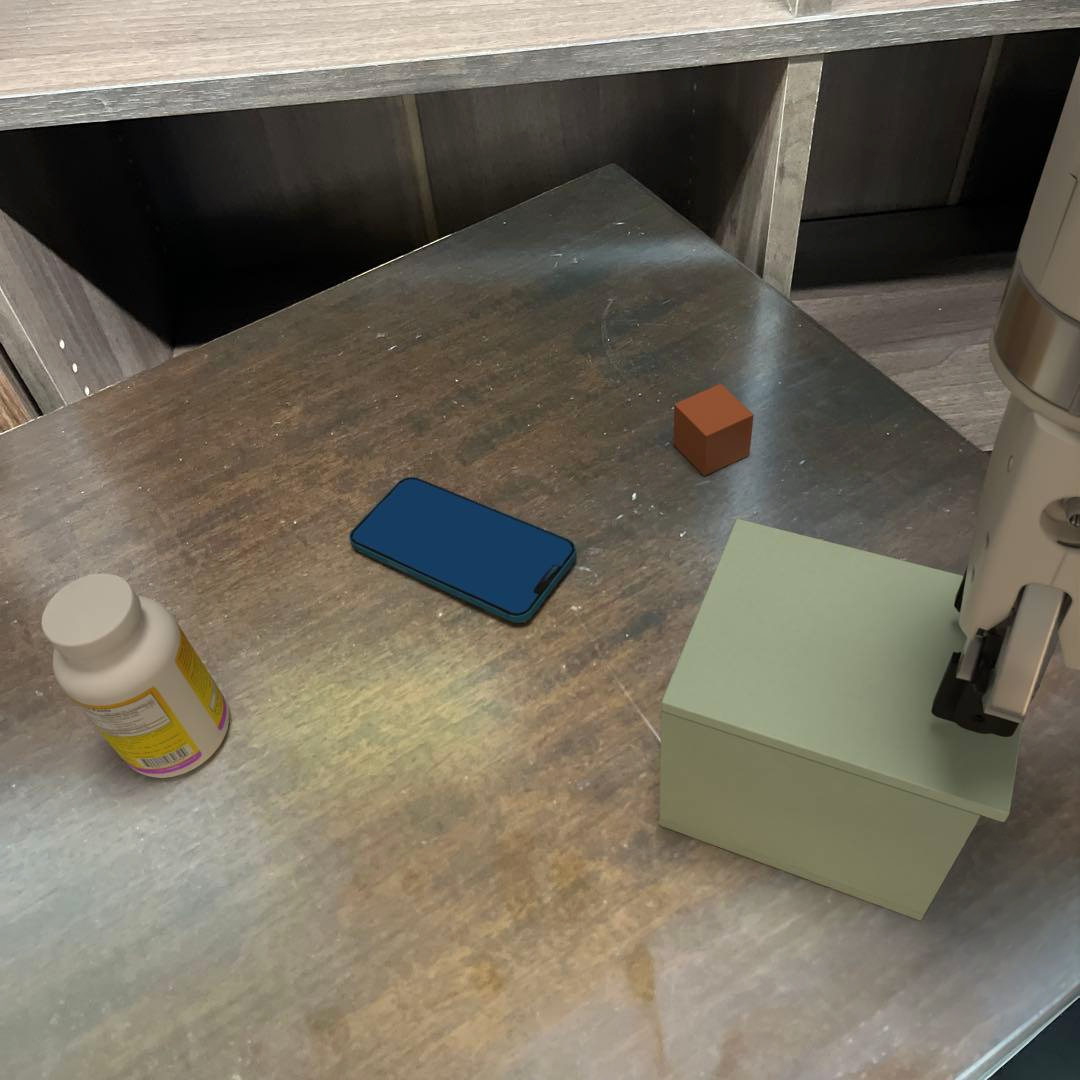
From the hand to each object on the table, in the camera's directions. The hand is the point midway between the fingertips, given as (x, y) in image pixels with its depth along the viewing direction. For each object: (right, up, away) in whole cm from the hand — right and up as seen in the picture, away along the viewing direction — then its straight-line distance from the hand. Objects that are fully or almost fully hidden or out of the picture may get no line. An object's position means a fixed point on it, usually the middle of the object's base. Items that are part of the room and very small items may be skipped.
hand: (981, 663), depth 43 cm
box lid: (-5, 0, +3) cm, 6 cm away
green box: (-4, -8, +12) cm, 15 cm away
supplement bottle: (-41, -7, +18) cm, 45 cm away
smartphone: (-24, +4, +25) cm, 36 cm away
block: (-7, +12, +30) cm, 33 cm away
